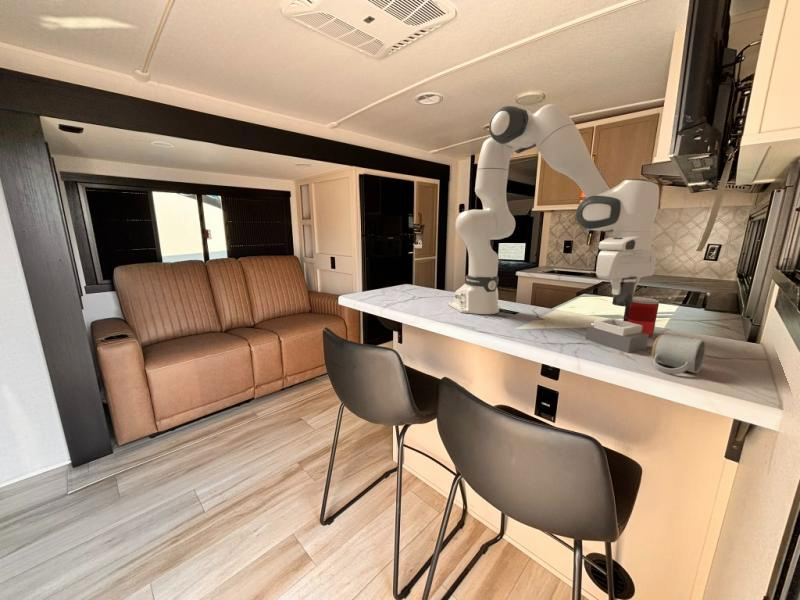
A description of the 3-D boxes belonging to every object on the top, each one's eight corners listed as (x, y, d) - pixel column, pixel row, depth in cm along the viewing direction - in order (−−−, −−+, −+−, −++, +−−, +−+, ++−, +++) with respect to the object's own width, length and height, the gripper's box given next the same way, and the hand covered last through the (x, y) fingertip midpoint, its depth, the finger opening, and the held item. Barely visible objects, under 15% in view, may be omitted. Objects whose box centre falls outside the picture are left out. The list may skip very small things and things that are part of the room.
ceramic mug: (658, 357, 79) (664, 328, 77) (702, 368, 72) (709, 337, 71) (642, 368, 73) (648, 337, 71) (688, 381, 67) (695, 347, 65)
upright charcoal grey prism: (608, 303, 87) (612, 275, 86) (618, 302, 89) (622, 274, 87) (625, 307, 83) (630, 277, 81) (635, 305, 85) (640, 276, 83)
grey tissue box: (585, 338, 93) (588, 319, 91) (602, 335, 96) (605, 316, 94) (628, 352, 82) (632, 330, 81) (646, 348, 85) (650, 327, 84)
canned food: (659, 337, 94) (666, 302, 92) (633, 337, 94) (639, 301, 92) (640, 329, 102) (645, 296, 99) (615, 329, 102) (621, 296, 99)
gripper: (641, 242, 90) (633, 289, 93) (594, 242, 81) (587, 294, 84) (666, 242, 84) (657, 292, 87) (619, 243, 76) (611, 298, 79)
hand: (623, 293), depth 86 cm, fingers closed on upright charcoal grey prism, 4 cm apart
